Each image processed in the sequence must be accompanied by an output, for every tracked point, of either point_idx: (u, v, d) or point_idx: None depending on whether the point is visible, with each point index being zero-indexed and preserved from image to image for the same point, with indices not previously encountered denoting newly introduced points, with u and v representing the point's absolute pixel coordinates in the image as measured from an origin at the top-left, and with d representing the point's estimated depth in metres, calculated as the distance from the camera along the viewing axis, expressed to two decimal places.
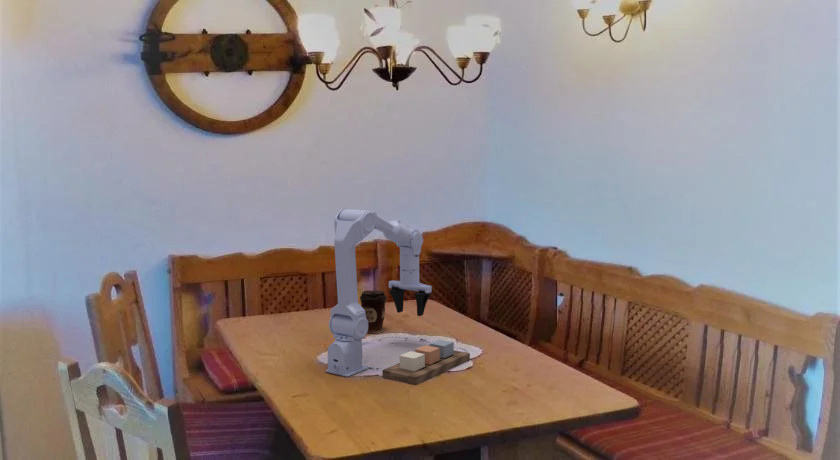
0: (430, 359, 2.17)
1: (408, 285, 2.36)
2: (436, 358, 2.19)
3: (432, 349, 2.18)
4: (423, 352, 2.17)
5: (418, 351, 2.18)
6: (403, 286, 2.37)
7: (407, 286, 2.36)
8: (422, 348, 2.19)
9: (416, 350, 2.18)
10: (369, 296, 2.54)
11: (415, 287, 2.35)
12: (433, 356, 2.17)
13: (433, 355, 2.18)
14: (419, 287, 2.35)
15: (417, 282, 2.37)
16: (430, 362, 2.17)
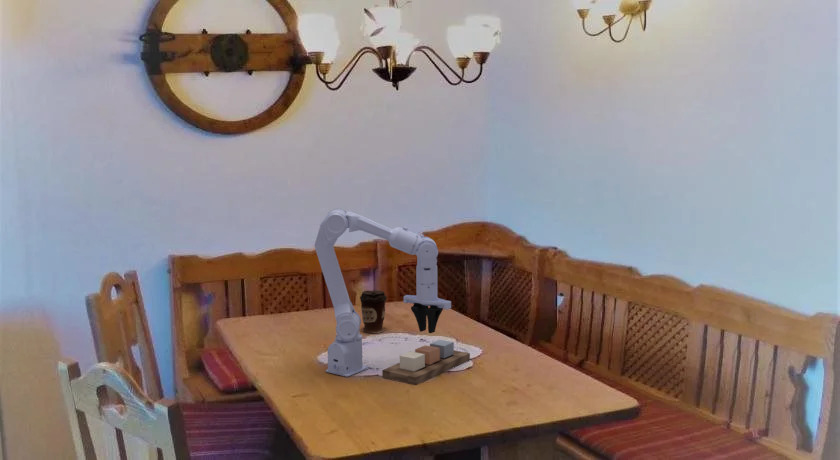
0: (430, 359, 2.17)
1: (425, 300, 2.14)
2: (436, 358, 2.19)
3: (432, 349, 2.18)
4: (423, 352, 2.17)
5: (418, 351, 2.18)
6: (420, 301, 2.15)
7: (424, 301, 2.14)
8: (422, 348, 2.19)
9: (416, 350, 2.18)
10: (369, 296, 2.54)
11: (433, 303, 2.14)
12: (433, 356, 2.17)
13: (433, 355, 2.18)
14: (437, 303, 2.13)
15: (435, 297, 2.16)
16: (430, 362, 2.17)
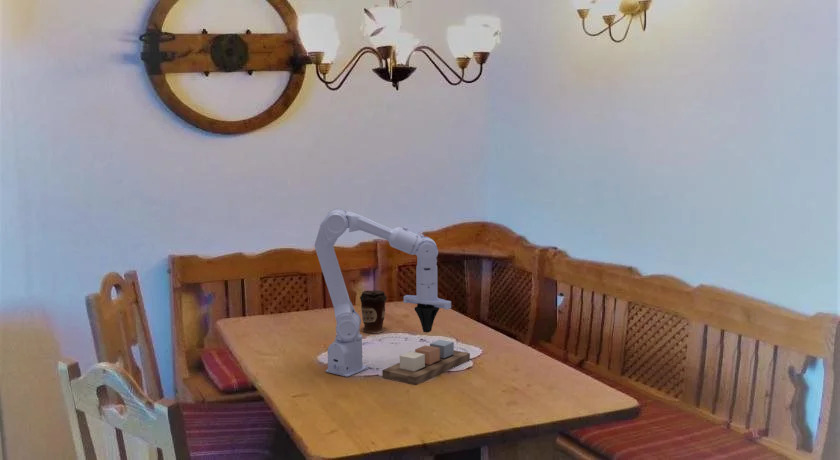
0: (430, 359, 2.17)
1: (425, 300, 2.14)
2: (436, 358, 2.19)
3: (432, 349, 2.18)
4: (423, 352, 2.17)
5: (418, 351, 2.18)
6: (420, 301, 2.15)
7: (424, 301, 2.14)
8: (422, 348, 2.19)
9: (416, 350, 2.18)
10: (369, 296, 2.54)
11: (433, 303, 2.14)
12: (433, 356, 2.17)
13: (433, 355, 2.18)
14: (437, 303, 2.13)
15: (435, 297, 2.16)
16: (430, 362, 2.17)
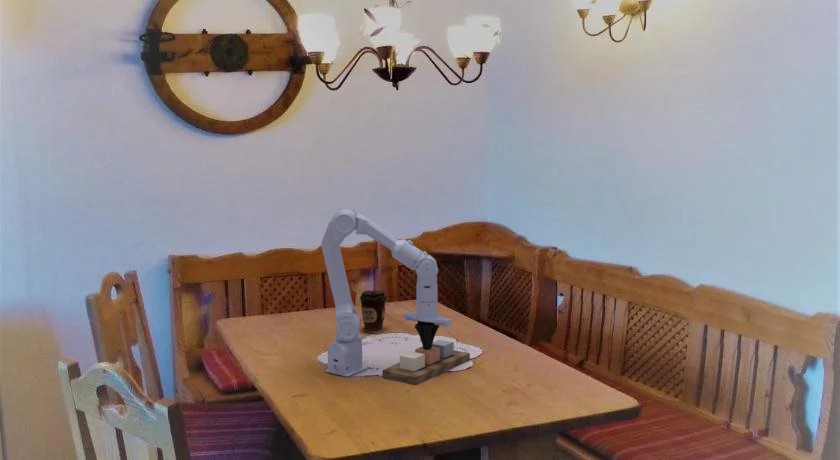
0: (430, 359, 2.17)
1: (425, 318, 2.15)
2: (436, 358, 2.19)
3: (432, 349, 2.18)
4: (423, 352, 2.17)
5: (418, 351, 2.18)
6: (420, 319, 2.16)
7: (424, 319, 2.15)
8: (422, 348, 2.19)
9: (416, 350, 2.18)
10: (369, 296, 2.54)
11: (433, 320, 2.14)
12: (433, 356, 2.17)
13: (433, 355, 2.18)
14: (438, 320, 2.14)
15: (435, 315, 2.16)
16: (430, 362, 2.17)
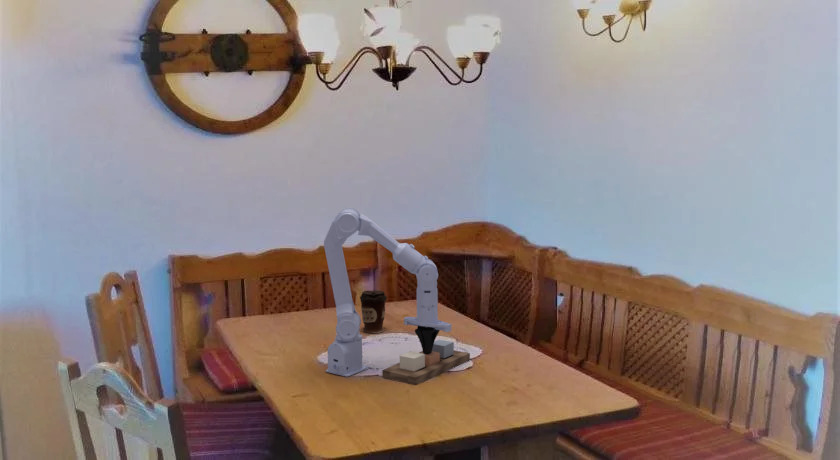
0: (430, 364, 2.17)
1: (426, 323, 2.15)
2: None
3: (432, 354, 2.19)
4: None
5: None
6: (420, 324, 2.16)
7: (424, 324, 2.15)
8: (422, 353, 2.20)
9: None
10: (369, 296, 2.54)
11: (433, 325, 2.15)
12: (433, 361, 2.18)
13: (433, 359, 2.18)
14: (438, 325, 2.14)
15: (435, 319, 2.16)
16: None
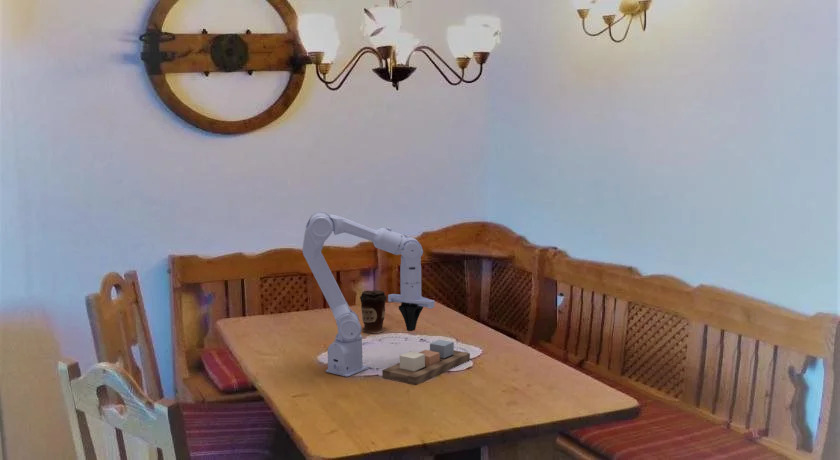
0: (430, 364, 2.17)
1: (409, 299, 2.16)
2: None
3: (432, 354, 2.19)
4: None
5: None
6: (404, 300, 2.17)
7: (408, 300, 2.16)
8: (422, 353, 2.20)
9: None
10: (369, 296, 2.54)
11: (417, 302, 2.16)
12: (433, 361, 2.18)
13: (433, 359, 2.18)
14: (421, 302, 2.15)
15: (419, 296, 2.17)
16: None
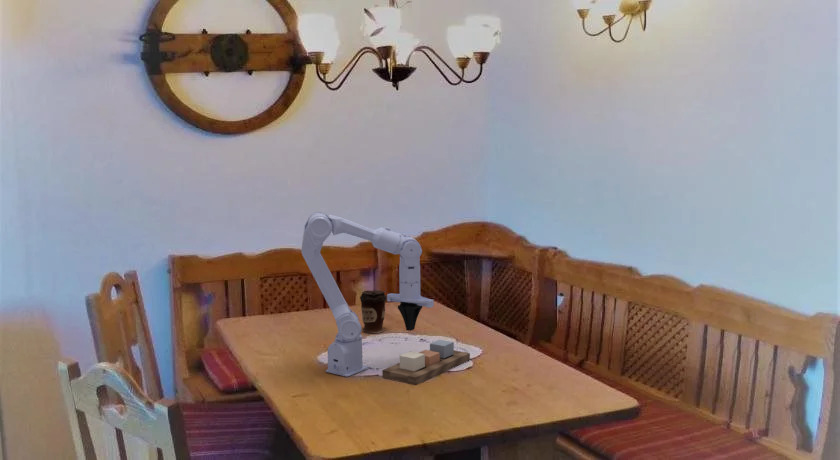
0: (430, 364, 2.17)
1: (408, 299, 2.16)
2: None
3: (432, 354, 2.19)
4: None
5: None
6: (403, 300, 2.17)
7: (407, 300, 2.16)
8: (422, 353, 2.20)
9: None
10: (369, 296, 2.54)
11: (416, 301, 2.16)
12: (433, 361, 2.18)
13: (433, 359, 2.18)
14: (420, 301, 2.15)
15: (418, 295, 2.18)
16: None
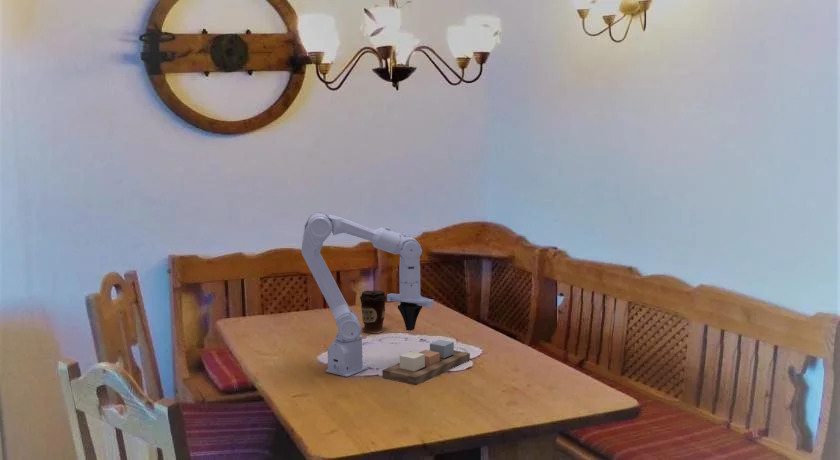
0: (430, 364, 2.17)
1: (408, 299, 2.16)
2: None
3: (432, 354, 2.19)
4: None
5: None
6: (403, 300, 2.17)
7: (407, 300, 2.16)
8: (422, 353, 2.20)
9: None
10: (369, 296, 2.54)
11: (416, 301, 2.16)
12: (433, 361, 2.18)
13: (433, 359, 2.18)
14: (420, 301, 2.15)
15: (418, 295, 2.18)
16: None
